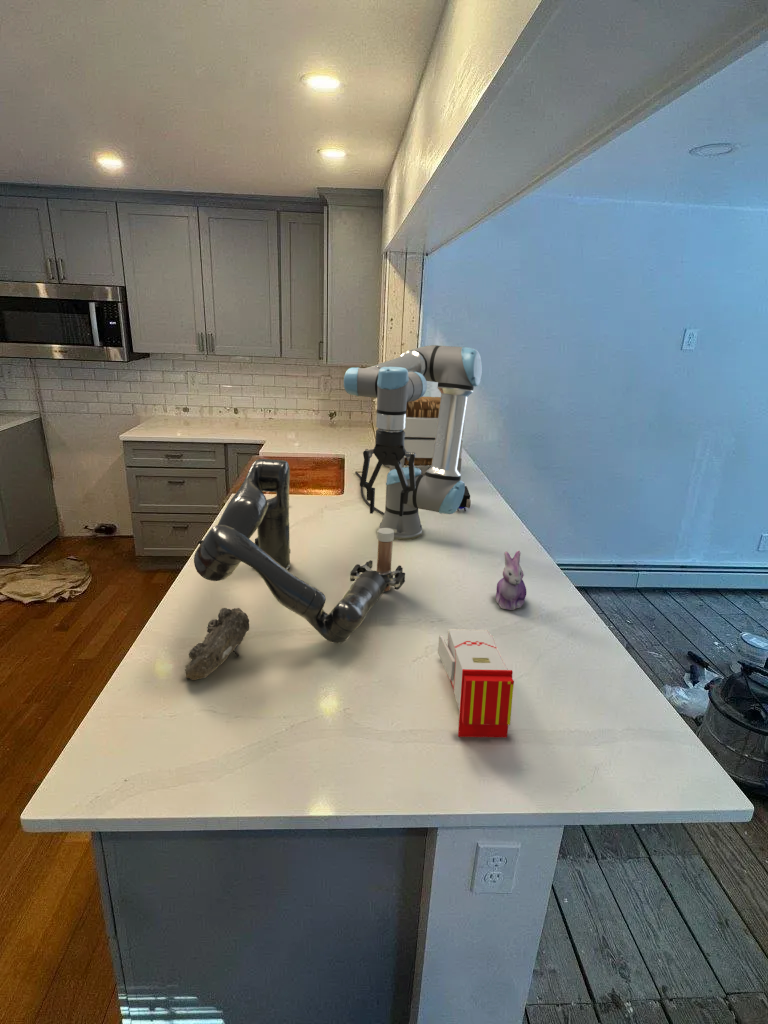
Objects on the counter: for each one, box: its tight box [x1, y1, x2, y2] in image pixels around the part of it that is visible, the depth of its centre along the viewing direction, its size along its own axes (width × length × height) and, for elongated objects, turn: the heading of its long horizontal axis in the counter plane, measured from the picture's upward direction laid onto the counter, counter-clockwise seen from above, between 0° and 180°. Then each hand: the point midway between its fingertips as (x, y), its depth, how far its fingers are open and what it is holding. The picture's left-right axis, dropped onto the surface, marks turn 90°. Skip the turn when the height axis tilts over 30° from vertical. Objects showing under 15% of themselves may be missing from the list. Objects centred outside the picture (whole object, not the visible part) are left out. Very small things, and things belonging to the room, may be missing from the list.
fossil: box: [184, 607, 250, 681], centre depth 125 cm, size 22×10×15 cm
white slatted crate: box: [383, 396, 465, 475], centre depth 268 cm, size 34×33×41 cm
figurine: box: [495, 550, 527, 611], centre depth 153 cm, size 9×10×15 cm
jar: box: [376, 539, 394, 593], centre depth 158 cm, size 4×4×17 cm
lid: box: [376, 528, 395, 542], centre depth 155 cm, size 5×5×2 cm
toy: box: [437, 628, 515, 738], centre depth 117 cm, size 12×13×30 cm
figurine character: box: [456, 485, 472, 513], centre depth 228 cm, size 7×8×15 cm
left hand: (385, 565), depth 160 cm, fingers open, 8 cm apart
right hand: (386, 513), depth 153 cm, fingers open, 7 cm apart
